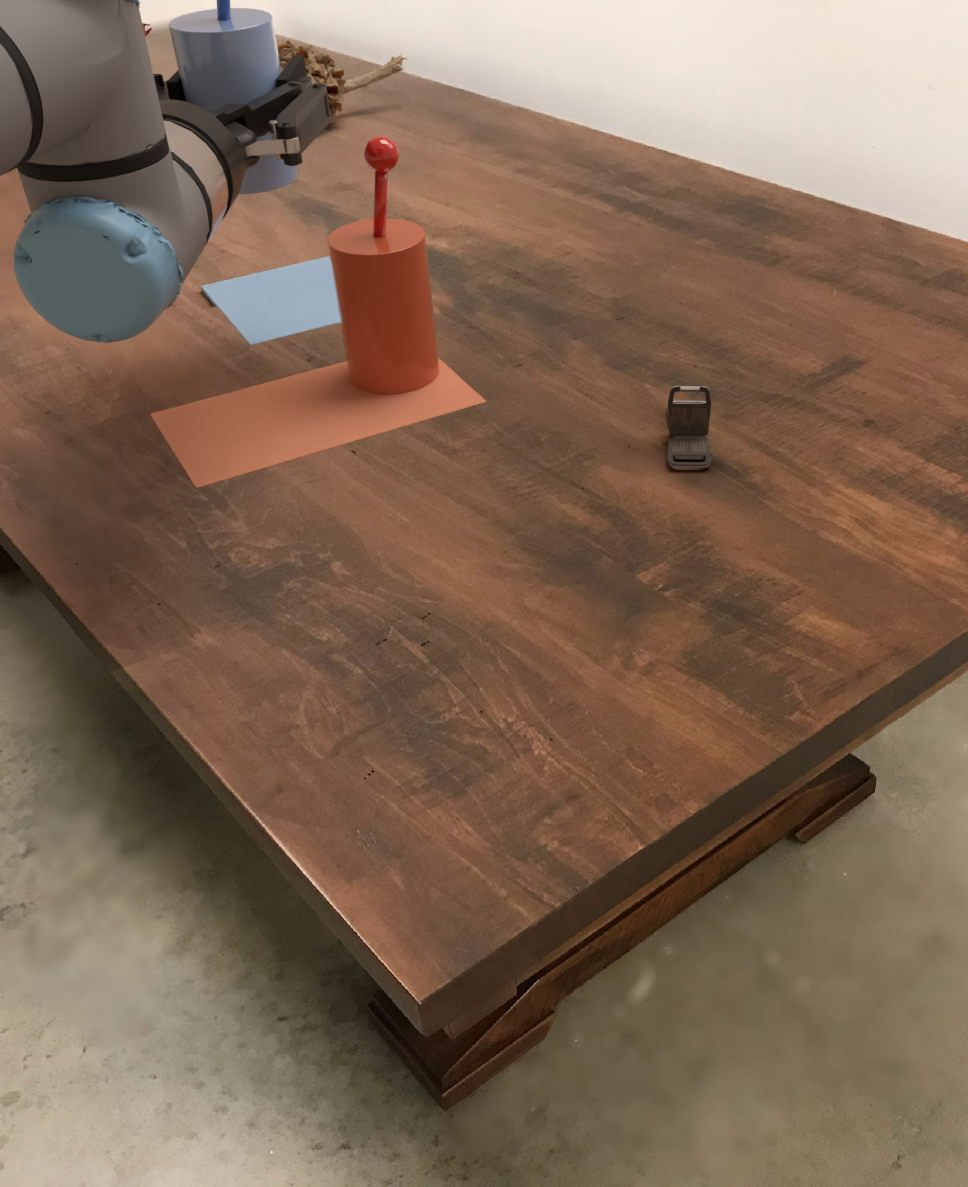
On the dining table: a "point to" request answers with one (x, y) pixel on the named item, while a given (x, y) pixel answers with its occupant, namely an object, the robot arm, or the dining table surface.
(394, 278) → the terracotta spoon jar
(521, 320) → the dining table surface
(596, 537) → the dining table surface
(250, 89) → the blue spoon jar
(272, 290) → the blue mat
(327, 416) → the terracotta mat
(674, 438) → the panini press grill
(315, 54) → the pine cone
